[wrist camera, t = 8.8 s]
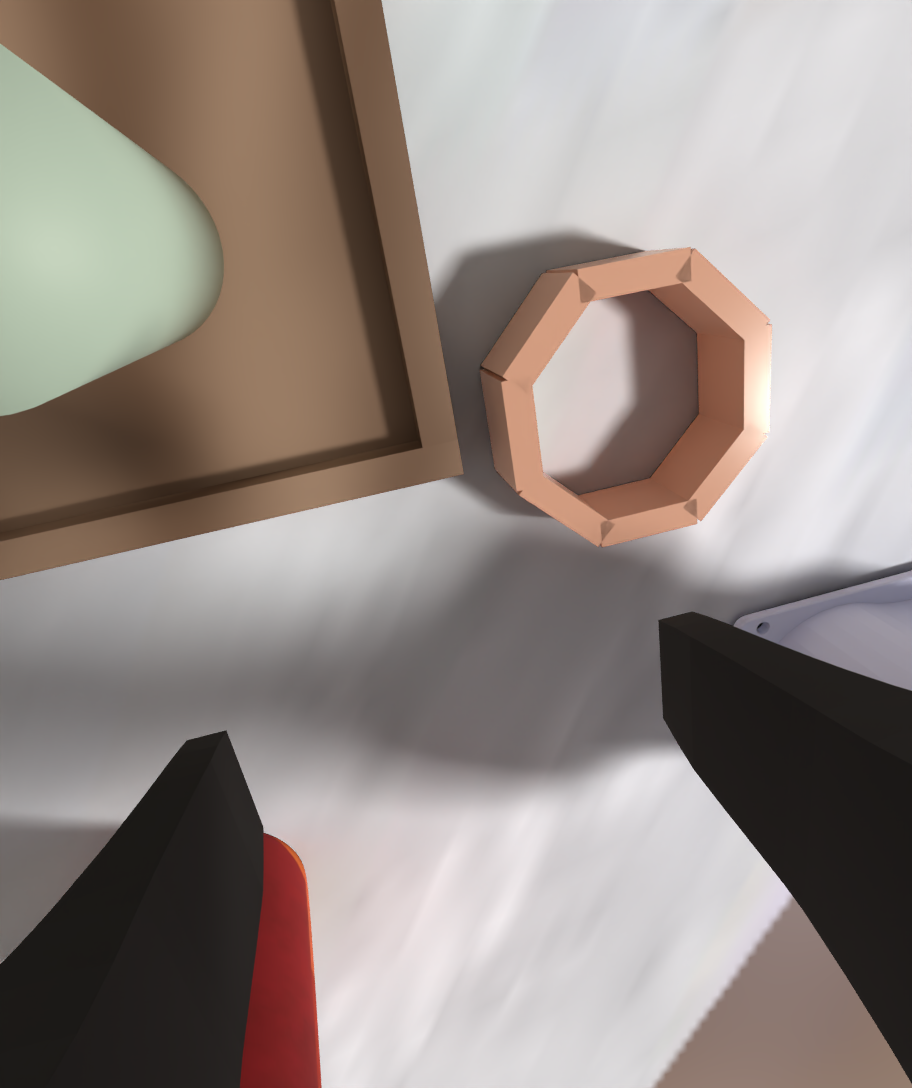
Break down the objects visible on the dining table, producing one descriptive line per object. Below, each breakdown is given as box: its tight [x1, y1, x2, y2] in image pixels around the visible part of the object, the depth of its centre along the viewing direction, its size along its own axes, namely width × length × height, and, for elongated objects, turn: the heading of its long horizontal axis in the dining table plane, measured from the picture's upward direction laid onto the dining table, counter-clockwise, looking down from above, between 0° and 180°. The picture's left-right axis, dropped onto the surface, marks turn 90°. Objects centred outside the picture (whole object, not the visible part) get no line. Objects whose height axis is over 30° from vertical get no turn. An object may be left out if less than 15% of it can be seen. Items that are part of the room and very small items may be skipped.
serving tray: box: [0, 0, 464, 580], centre depth 16 cm, size 14×14×1 cm
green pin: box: [0, 44, 224, 416], centre depth 12 cm, size 4×4×9 cm
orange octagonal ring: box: [480, 247, 772, 547], centre depth 19 cm, size 8×8×2 cm
